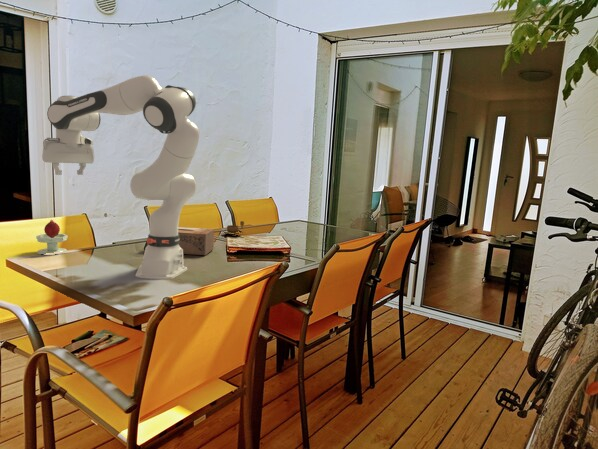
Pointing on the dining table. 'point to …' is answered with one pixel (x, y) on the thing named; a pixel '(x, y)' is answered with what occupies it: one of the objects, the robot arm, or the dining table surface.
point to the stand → (51, 243)
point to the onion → (52, 229)
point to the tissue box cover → (196, 240)
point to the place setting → (234, 228)
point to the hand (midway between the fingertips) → (69, 174)
